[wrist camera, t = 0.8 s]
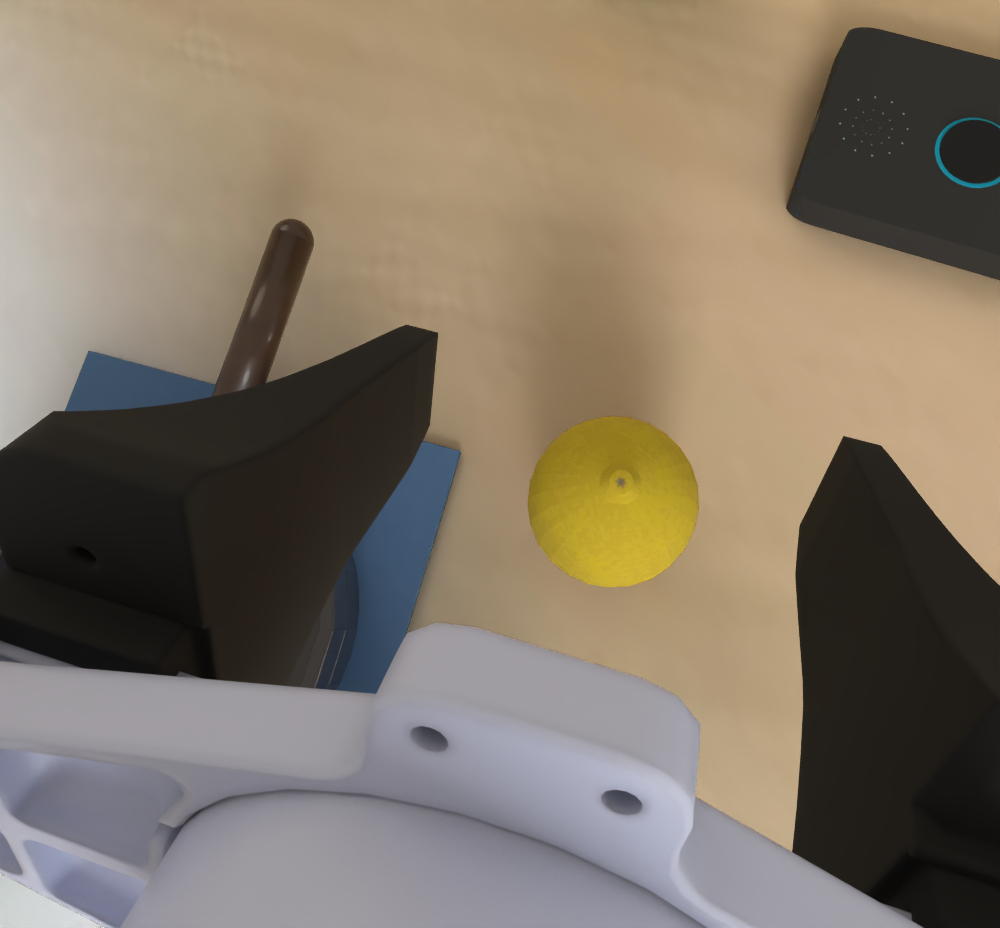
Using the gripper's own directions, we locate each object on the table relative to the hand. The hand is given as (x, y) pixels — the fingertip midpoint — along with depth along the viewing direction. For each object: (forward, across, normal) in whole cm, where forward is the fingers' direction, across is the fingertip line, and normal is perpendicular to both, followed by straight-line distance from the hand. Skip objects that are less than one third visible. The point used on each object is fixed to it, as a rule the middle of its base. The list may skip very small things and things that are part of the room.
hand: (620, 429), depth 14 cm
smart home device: (+24, -14, +1) cm, 28 cm away
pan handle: (+12, +14, +8) cm, 20 cm away
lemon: (+12, 0, +12) cm, 17 cm away
